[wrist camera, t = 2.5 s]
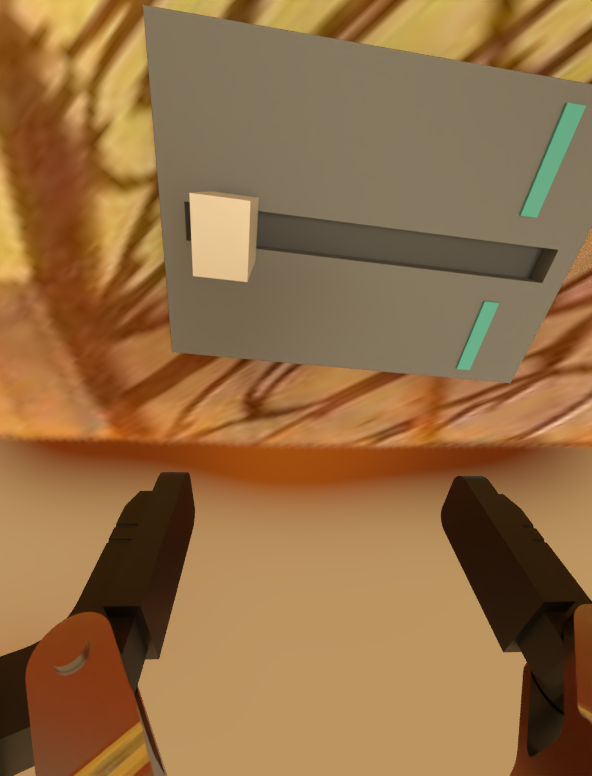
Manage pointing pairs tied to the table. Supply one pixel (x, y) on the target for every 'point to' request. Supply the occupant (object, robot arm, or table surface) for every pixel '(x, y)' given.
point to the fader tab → (223, 235)
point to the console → (366, 197)
